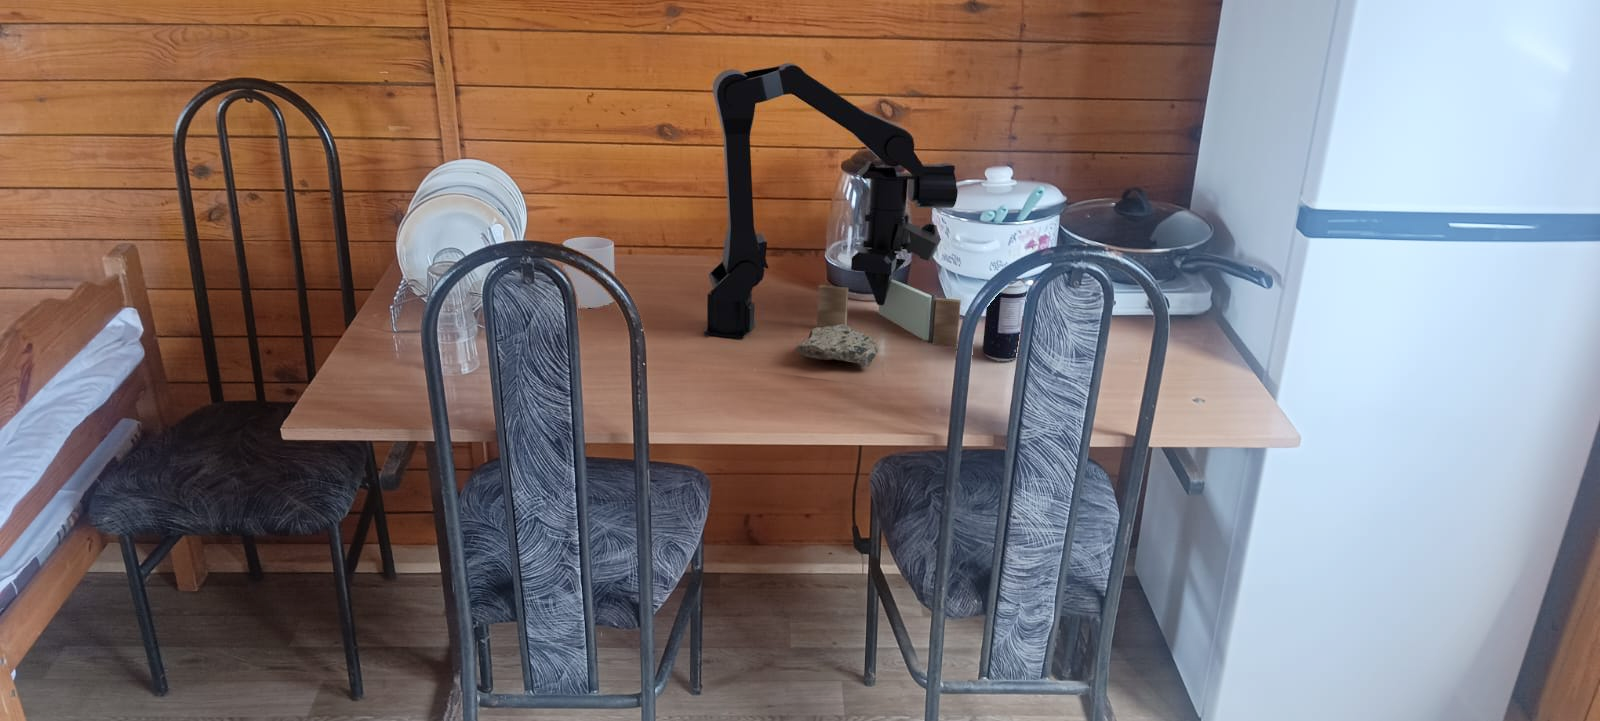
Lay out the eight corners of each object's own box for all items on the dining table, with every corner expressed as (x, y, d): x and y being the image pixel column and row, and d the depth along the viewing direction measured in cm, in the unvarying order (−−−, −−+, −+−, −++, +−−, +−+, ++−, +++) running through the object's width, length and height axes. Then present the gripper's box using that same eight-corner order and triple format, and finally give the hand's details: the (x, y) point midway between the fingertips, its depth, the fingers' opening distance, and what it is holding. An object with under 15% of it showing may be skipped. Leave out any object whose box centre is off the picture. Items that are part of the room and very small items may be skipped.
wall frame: (816, 332, 181) (818, 283, 178) (818, 330, 182) (820, 281, 179) (955, 349, 176) (960, 299, 173) (956, 346, 177) (961, 297, 174)
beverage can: (1022, 354, 175) (1030, 278, 171) (1016, 366, 170) (1025, 288, 166) (985, 349, 176) (992, 273, 172) (978, 360, 171) (986, 283, 167)
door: (878, 318, 187) (880, 276, 185) (883, 317, 188) (885, 276, 186) (924, 340, 178) (928, 297, 175) (930, 339, 178) (933, 296, 176)
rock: (858, 374, 162) (859, 345, 160) (789, 362, 167) (789, 334, 165) (889, 356, 170) (890, 328, 169) (822, 345, 176) (823, 318, 174)
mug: (580, 288, 199) (579, 230, 196) (627, 292, 198) (626, 233, 195) (557, 308, 188) (555, 247, 184) (606, 312, 187) (605, 251, 183)
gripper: (927, 223, 167) (919, 326, 172) (948, 202, 184) (940, 296, 189) (853, 215, 170) (847, 317, 174) (880, 195, 187) (874, 289, 192)
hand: (880, 304), depth 182 cm, fingers closed
